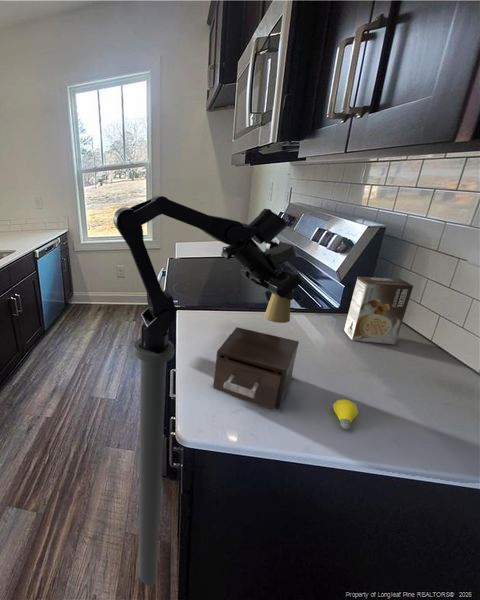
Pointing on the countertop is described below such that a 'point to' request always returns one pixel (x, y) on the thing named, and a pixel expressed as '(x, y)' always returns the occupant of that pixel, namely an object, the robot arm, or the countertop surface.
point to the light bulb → (345, 412)
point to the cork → (278, 309)
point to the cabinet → (262, 354)
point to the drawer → (247, 381)
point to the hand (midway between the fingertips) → (286, 295)
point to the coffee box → (377, 309)
